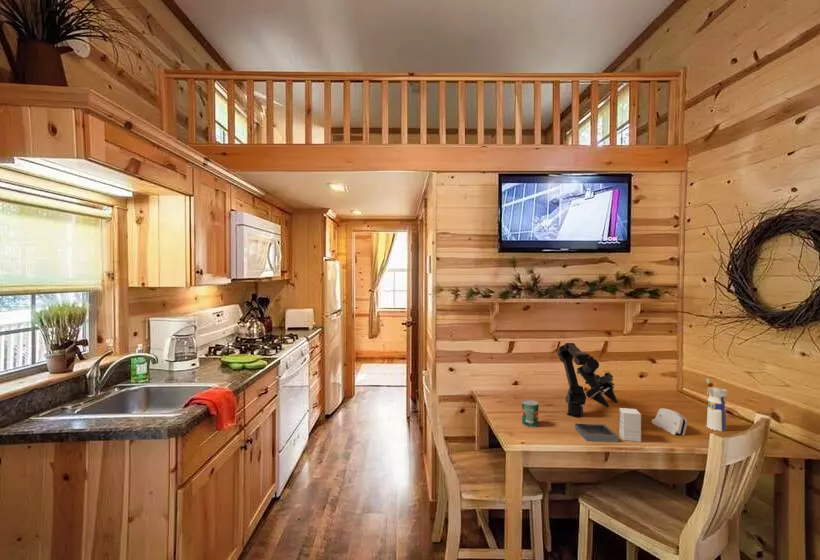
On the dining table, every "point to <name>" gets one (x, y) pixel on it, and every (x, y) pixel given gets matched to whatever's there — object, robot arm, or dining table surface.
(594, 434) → the square collar
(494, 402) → the dining table surface
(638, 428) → the supplement box
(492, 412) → the dining table surface
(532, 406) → the canned tomato
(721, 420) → the white tall bottle
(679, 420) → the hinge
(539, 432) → the dining table surface
